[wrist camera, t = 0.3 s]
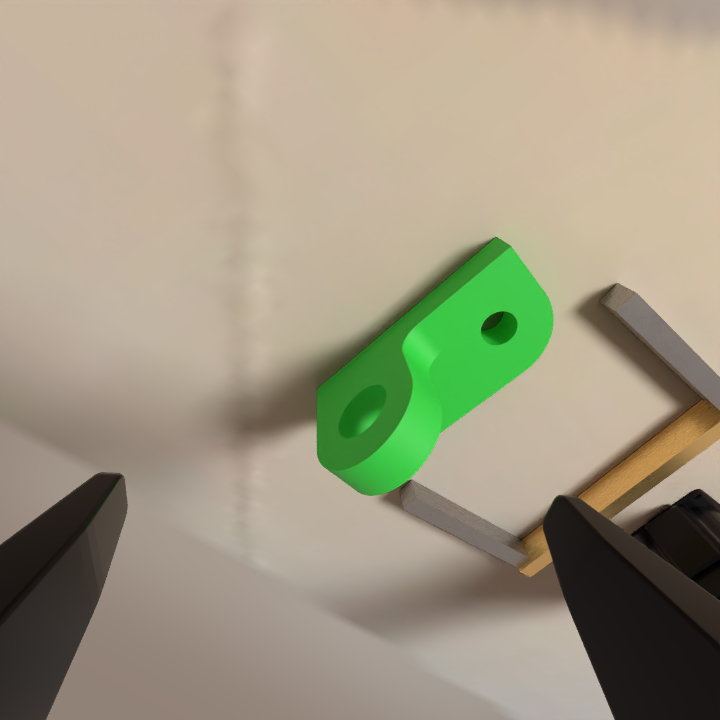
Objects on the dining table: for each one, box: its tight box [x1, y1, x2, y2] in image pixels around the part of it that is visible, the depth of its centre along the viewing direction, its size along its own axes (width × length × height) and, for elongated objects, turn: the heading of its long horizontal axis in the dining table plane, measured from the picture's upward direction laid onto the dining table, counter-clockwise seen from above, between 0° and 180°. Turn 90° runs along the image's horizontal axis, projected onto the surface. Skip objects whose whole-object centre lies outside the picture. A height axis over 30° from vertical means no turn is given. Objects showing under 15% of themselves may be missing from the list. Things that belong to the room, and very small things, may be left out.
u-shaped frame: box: [399, 283, 720, 577], centre depth 26 cm, size 12×17×2 cm
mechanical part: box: [317, 237, 553, 496], centre depth 20 cm, size 12×6×8 cm, turn 132°
